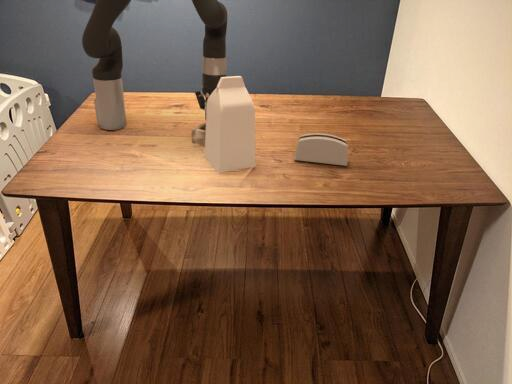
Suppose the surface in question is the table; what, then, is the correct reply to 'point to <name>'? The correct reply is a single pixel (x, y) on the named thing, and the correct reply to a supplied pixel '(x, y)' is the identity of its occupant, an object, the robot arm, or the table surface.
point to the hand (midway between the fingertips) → (213, 123)
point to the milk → (230, 126)
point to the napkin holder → (322, 149)
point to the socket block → (199, 134)
